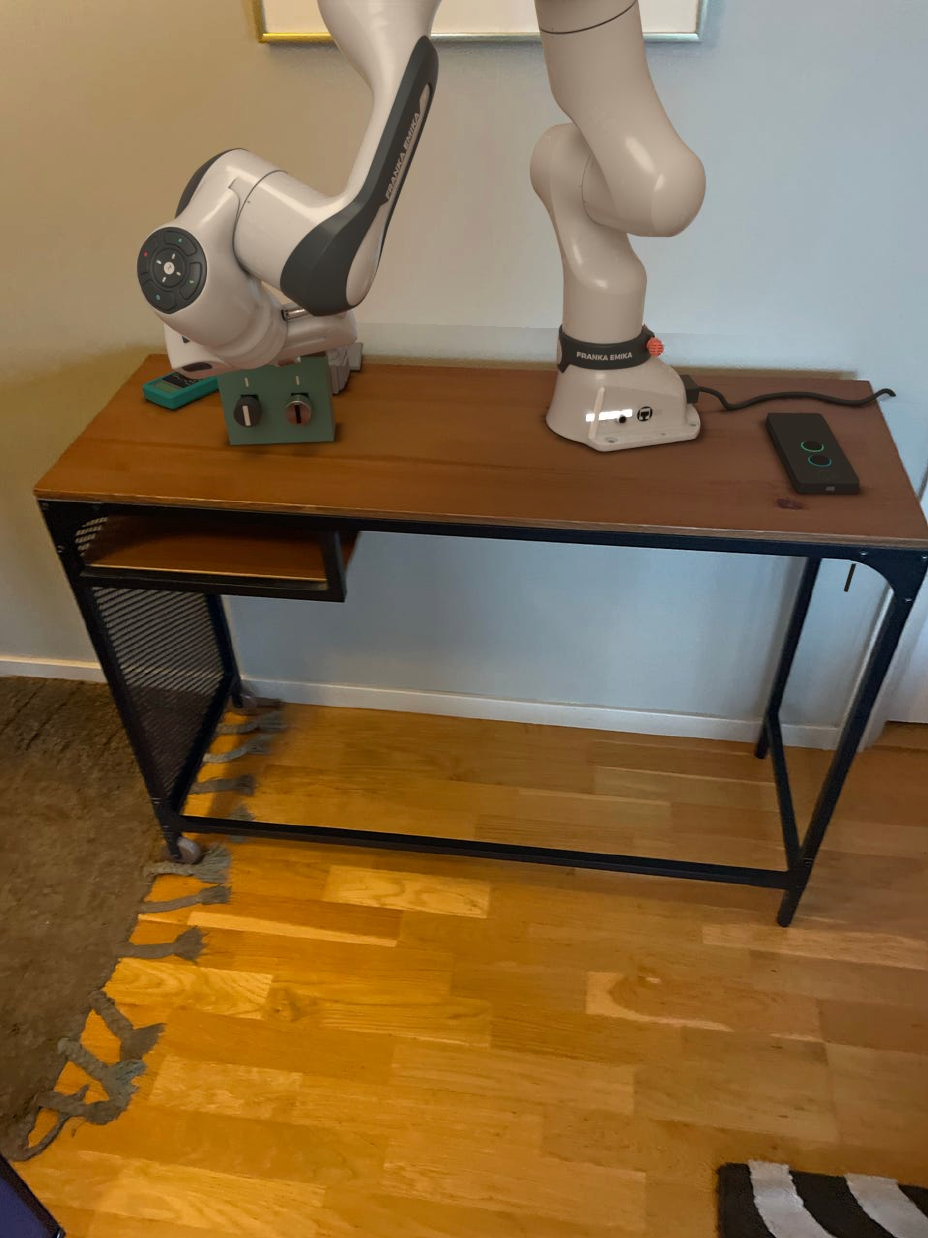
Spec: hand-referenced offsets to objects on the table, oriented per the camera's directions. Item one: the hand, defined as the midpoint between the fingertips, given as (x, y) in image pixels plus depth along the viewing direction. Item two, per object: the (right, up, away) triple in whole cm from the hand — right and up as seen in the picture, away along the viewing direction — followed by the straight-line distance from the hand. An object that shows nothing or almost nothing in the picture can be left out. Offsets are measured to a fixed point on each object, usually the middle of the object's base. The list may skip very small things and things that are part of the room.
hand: (288, 358), depth 108 cm
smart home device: (+69, -9, +19) cm, 72 cm away
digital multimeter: (-22, +6, +38) cm, 45 cm away
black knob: (-9, -3, +20) cm, 22 cm away
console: (-6, -4, +26) cm, 27 cm away
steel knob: (-2, -3, +20) cm, 20 cm away
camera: (-1, +9, +42) cm, 43 cm away
